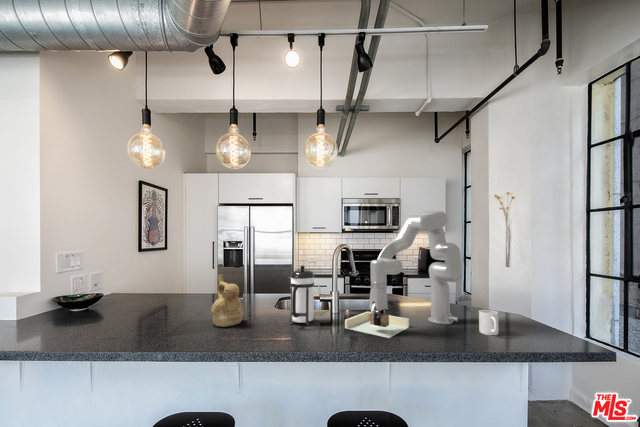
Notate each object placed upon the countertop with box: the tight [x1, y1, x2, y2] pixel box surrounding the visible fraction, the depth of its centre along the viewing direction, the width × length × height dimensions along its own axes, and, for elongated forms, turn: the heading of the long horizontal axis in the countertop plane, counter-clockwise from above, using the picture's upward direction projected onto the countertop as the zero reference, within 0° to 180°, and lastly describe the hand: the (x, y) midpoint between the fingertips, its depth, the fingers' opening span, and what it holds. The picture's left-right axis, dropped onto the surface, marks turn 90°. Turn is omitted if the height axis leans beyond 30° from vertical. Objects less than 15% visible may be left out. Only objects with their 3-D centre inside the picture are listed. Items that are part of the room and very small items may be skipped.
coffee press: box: [288, 265, 316, 327], centre depth 178 cm, size 17×16×30 cm
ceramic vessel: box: [210, 273, 244, 328], centre depth 177 cm, size 17×20×25 cm
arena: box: [344, 311, 410, 339], centre depth 169 cm, size 24×22×4 cm
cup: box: [478, 309, 499, 336], centre depth 161 cm, size 8×12×10 cm
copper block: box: [370, 312, 390, 327], centre depth 162 cm, size 8×4×5 cm, turn 52°
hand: (379, 324), depth 162 cm, fingers closed on copper block, 4 cm apart
